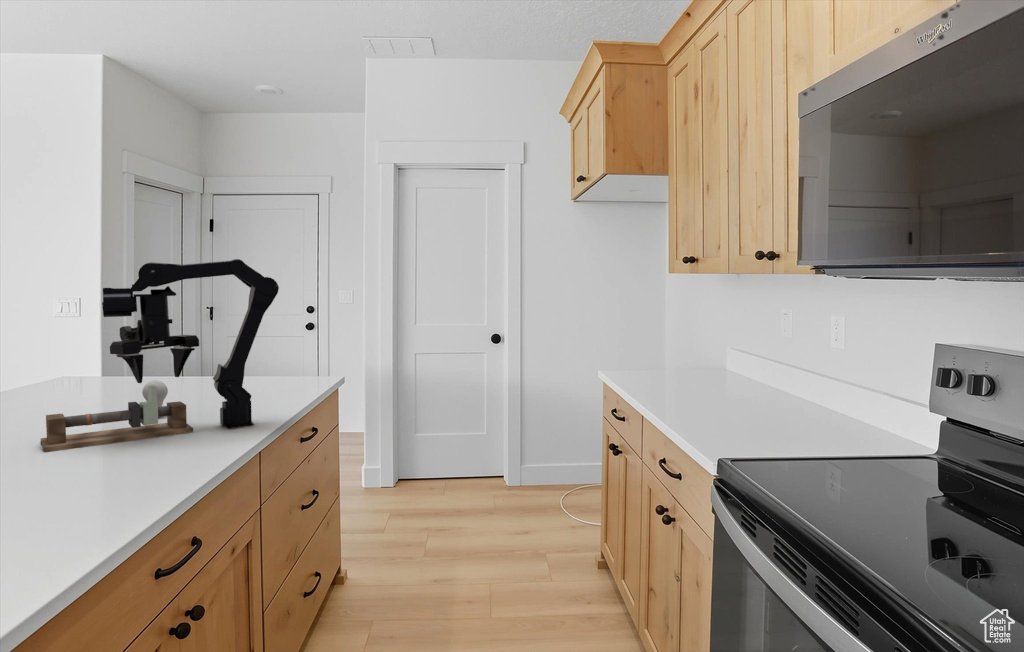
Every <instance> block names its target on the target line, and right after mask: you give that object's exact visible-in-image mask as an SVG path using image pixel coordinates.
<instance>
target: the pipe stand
mask: <svg viewBox="0 0 1024 652" xmlns="http://www.w3.org/2000/svg"><path fill="white" fill-rule="evenodd" d="M159 417H161V418H162V417H166V418H167V419H166V421H167V422H163V423H161V422H160V423H158V424H151V425H141V427H135V428H133V427H132V426H130V427H122V428H114V429H107V430H97V431H88V432H82V433H72V434H67V429H66V428H72V427H73V428H75V427H82V426H92V425H100V424H108V423H115V422H116V423H117V422H125V421H129V420H132V410H128V409H126V410H118V411H117V410H116V411H109V412H108V411H107V412H97V413H85V414H79V415H71V416H65V415H64V414H63V413H54V414H46V415H45V424H46V437H42V438H41V437H40V445H41V447H42V450H43V452H44V453H48V452H56V451H62V450H69V449H76V448H77V449H78V448H85V447H93V446H101V445H107V444H115V443H116V444H117V443H121V442H122V443H123V442H130V441H137V440H144V439H145V440H146V439H151V438H160V437H167V436H174V435H181V434H183V435H184V434H189V433H194V427H193V426H191V425H190V424H189V423H187V421H188V420H187V417H188V416H187V404H185V403H184V402H183V401H180V400H179V401H170V402H166V405H164V406H163V405H162V407H158V418H159ZM140 419H143V409H140Z"/></svg>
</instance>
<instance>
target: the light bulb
mask: <svg viewBox="0 0 1024 652" xmlns="http://www.w3.org/2000/svg"><path fill="white" fill-rule="evenodd" d="M148 385H154V386H156V387H157V404H158V407H162V406H163V404H164V400H165V399H166V398H167V396H168V387H167V385H166V384H165V382H163V381H160V380H157V379H156V380H151V381H148V382H147V383H145V384H144V386H143V388H142V393H141V394H142V397H143V398H144V400H145V402H147V401H148Z"/></svg>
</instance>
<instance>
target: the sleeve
mask: <svg viewBox="0 0 1024 652" xmlns="http://www.w3.org/2000/svg"><path fill="white" fill-rule="evenodd" d="M138 404H139V405H140V409H143V419H141V425H142V426H145V425H153V424H159V417H158V404H157V387H156V386H154V385H148V401H140V402H139V403H138Z"/></svg>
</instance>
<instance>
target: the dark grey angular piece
mask: <svg viewBox="0 0 1024 652" xmlns="http://www.w3.org/2000/svg"><path fill="white" fill-rule="evenodd" d="M127 407H128V408H127V410H132V420H128V425H129V426H130V427H133V428H135V427H141V426H142V423H141V419H140V405H139V403H138V401H128V402H127Z"/></svg>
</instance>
